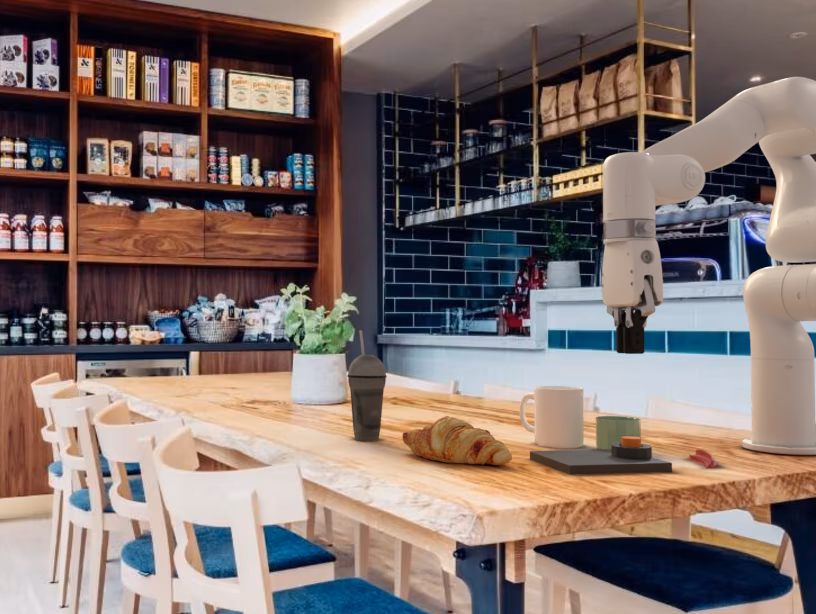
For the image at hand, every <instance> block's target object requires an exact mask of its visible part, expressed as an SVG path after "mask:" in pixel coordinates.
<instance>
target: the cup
mask: <svg viewBox="0 0 816 614" xmlns="http://www.w3.org/2000/svg"><path fill="white" fill-rule="evenodd" d="M533 389H534V391H533V392H526V393H525V394H523V395H522V397H521V399H520V403H519V419H520V424H521V425H522V427H523V428H524V429H525V430H526V431H527V432H530V433H533V434H534V443H535V444H536V446H540V447H545V448H554V449H576V448H581V447H583V445H584V442H585V432H584V431H585V430H584V429H585V428H584V427H585V426H584V425H585V424H584V418H585V417H584V388H583V387H581V386H580V387H579V386H571V385H570V386H569V385H537V386H534V388H533ZM529 400H533V401H534V402H533V403H534V404H533V405H534V408H533V409H534V425H532V424H530V423H529V422H528V420H527V416H526V409H527V403H528V401H529Z"/></svg>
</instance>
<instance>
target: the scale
mask: <svg viewBox="0 0 816 614" xmlns="http://www.w3.org/2000/svg"><path fill="white" fill-rule="evenodd" d="M529 460H530V461H533V462H536V463H538V464H541V465H542V466H545V467H548V468H550V469H553V470H556V471H558V472H561V473H565V474H567V475H570V476H572V475H573V476H577V475H609V474H610V475H612V474H613V475H614V474H643V473H645V474H648V473H649V474H650V473H672V472H673V463H672V462H670V461H667V460H663V459H660V458H656V457H653V447H652V445H650V444H645V443H641V447H626V446H621V443H613V444H611V449H604V450H599V449H565V450H561V449H559V450H530V451H529Z"/></svg>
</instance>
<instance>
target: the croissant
mask: <svg viewBox="0 0 816 614" xmlns="http://www.w3.org/2000/svg"><path fill="white" fill-rule="evenodd" d="M402 441H403V443H404V444H405V445H406V446H407V447H408V448H409V449H410V450H411V453H413V454H414V455H416V456H417V457H423V458H425V459H427V460H430V461H438V462H442V463H445V464H469V465H481V466H482V465H483V466H484V465H485V464H488V465H493V466H499V465H500V466H501V465H506V464H508V463H509V462H511V461H512V460H513V454H512V453H511V451H510V450H509V448H508V447H507V446H506V445H505V443H504V442H502V441H501V440H498V439H496V438H495V437H494V436H493V434H491V432H490V431H489V430H488V429H483V428H480V427H474V425H472V424H470V423H469V422H468V421H466V420H464V419H460V418H458V417H454V416H449V415H445V416H443V417H441V418H439V419H437V420H435V422H434V423H429V424H426V425H425V426H424V427H423V428H422V429H421V428H415V429H413V430H411V431H410V432H407V431H406V432H403V433H402Z"/></svg>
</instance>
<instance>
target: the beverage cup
mask: <svg viewBox="0 0 816 614" xmlns="http://www.w3.org/2000/svg"><path fill="white" fill-rule="evenodd" d="M358 332H359V340H360V349H361V350H360V351H361V354H360V355H358V356H356V357H355V358H354V359H353V360H352V361H351V363H350V365H349V367H348V370H347V371H348V372H347V380H348V387H349V390H350V404H351V416H352V428H353V429H352V431H353V435H354V440H355V441H358V442H359V441H360V442H376V441H379V440H380V433H381V426H382V415H383V403H384V390H385V387H386V382H387V381H386V380H387V371H386V367H385V365H384V363H383V362H382V360H381V359H379V357H377V356H376V355H374V354H365V345H364V344H365V343H364V336H363V335H364V334H363V330H361V329H360V330H359V331H358Z"/></svg>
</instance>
